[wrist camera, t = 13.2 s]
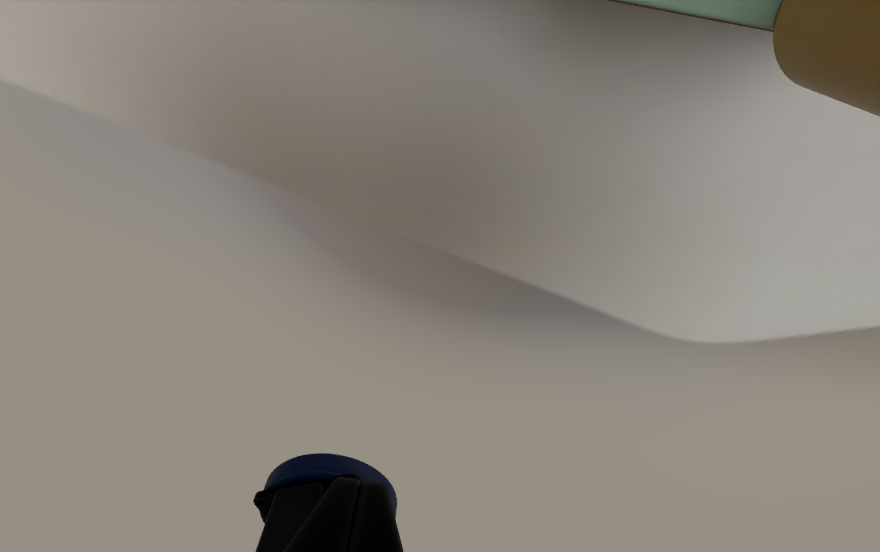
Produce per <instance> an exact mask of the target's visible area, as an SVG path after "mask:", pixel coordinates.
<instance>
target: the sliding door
mask: <svg viewBox="0 0 880 552" xmlns="http://www.w3.org/2000/svg"><path fill="white" fill-rule="evenodd" d="M618 1H624V2H629V3H634V4H639V5H645V6H650V7H655V8H660V9H665V10H671V11H676V12H681V13H686V14H692V15H697V16H702V17H707V18H712V19H718V20H723V21H728V22H733V23H739V24H744V25H749V26H754V27H759V28H765V29H770V30H774V35H773V44H774V52H775V56H776V59H777V62H778V64H779V66H780V68H781V70H782V71H783V72H784V74H785V75H786V76H787V77H788V78H789V79H790V80H791V81H793V82H794V83H796V84H798V85H800V86H802V87H804V88H807V89H810V90H812V91H815V92H817V93H820V94H823V95H825V96H828V97H830V98H833V99H836V100H838V101H841V102H843V103H846V104H849V105H851V106H854V107H857V108H859V109H862V110H864V111H867V112H870V113H872V114H875V115H877V116H880V0H618Z"/></svg>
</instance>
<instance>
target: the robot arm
mask: <svg viewBox="0 0 880 552" xmlns="http://www.w3.org/2000/svg"><path fill="white" fill-rule="evenodd" d="M253 502H254V504H255V506H256V507H257V508H258V509H259V511H260V512H261V513H262V514H263V516H264V517H265V518H266V523H265V526H264V529H263V532H262V535H261V538H260V540H259V543H258V546H257V549H256V552H403V548H402V544H401V540H400V536H399V532H398V528H397V525H396V520H395V516H394V512H393V508H392V504H391V500H390V496H389V492H388V489H387V486H386V485H385V484H384V483H381V482H374V481H363V482H362V481H361V479H360V478H359V476H357V475H355V474H344V475H339V476H334V477H328V478H323V479H318V480H313V481H308V482H303V483H298V484H293V485H288V486H283V487H278V488H273V489H268V490H262V491H259V492H257V493H256V494H255V497H254V500H253Z"/></svg>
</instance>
